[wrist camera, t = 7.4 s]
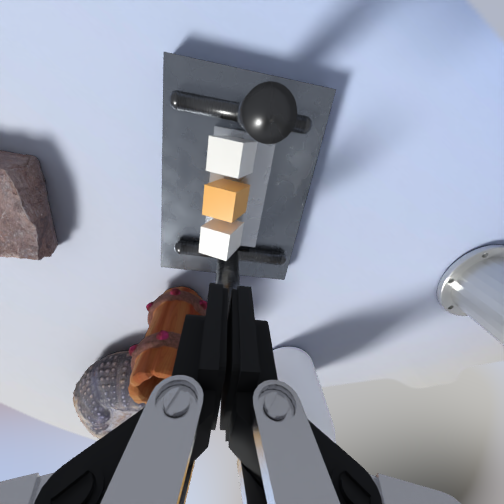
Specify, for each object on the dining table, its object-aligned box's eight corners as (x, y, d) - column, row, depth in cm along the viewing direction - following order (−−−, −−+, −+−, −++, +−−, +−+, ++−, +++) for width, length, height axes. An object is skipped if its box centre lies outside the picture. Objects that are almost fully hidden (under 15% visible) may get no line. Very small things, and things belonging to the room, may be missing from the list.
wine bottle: (307, 379, 49) (398, 690, 22) (257, 381, 48) (290, 707, 22) (314, 342, 44) (438, 677, 18) (259, 344, 44) (303, 697, 17)
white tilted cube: (257, 141, 24) (243, 142, 20) (252, 172, 25) (238, 178, 22) (227, 135, 25) (208, 135, 21) (224, 166, 26) (205, 170, 22)
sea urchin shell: (60, 354, 41) (28, 416, 32) (179, 319, 44) (179, 367, 35) (109, 423, 49) (95, 486, 41) (206, 390, 52) (212, 442, 43)
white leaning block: (244, 222, 28) (229, 234, 24) (240, 245, 29) (226, 261, 25) (218, 215, 28) (200, 226, 25) (215, 238, 29) (198, 252, 26)
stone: (-49, 141, 27) (-98, 146, 23) (46, 151, 28) (15, 158, 24) (-9, 243, 32) (-44, 262, 28) (69, 248, 34) (46, 267, 29)
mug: (149, 276, 36) (102, 371, 23) (208, 275, 37) (196, 366, 23) (163, 351, 43) (133, 457, 30) (213, 349, 43) (206, 452, 30)
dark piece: (327, 91, 27) (474, 57, 11) (281, 269, 37) (321, 392, 21) (169, 57, 25) (53, -52, 9) (165, 257, 35) (107, 383, 18)
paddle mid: (250, 184, 26) (236, 192, 22) (245, 211, 27) (231, 223, 24) (222, 178, 26) (204, 184, 23) (219, 204, 28) (201, 214, 24)
